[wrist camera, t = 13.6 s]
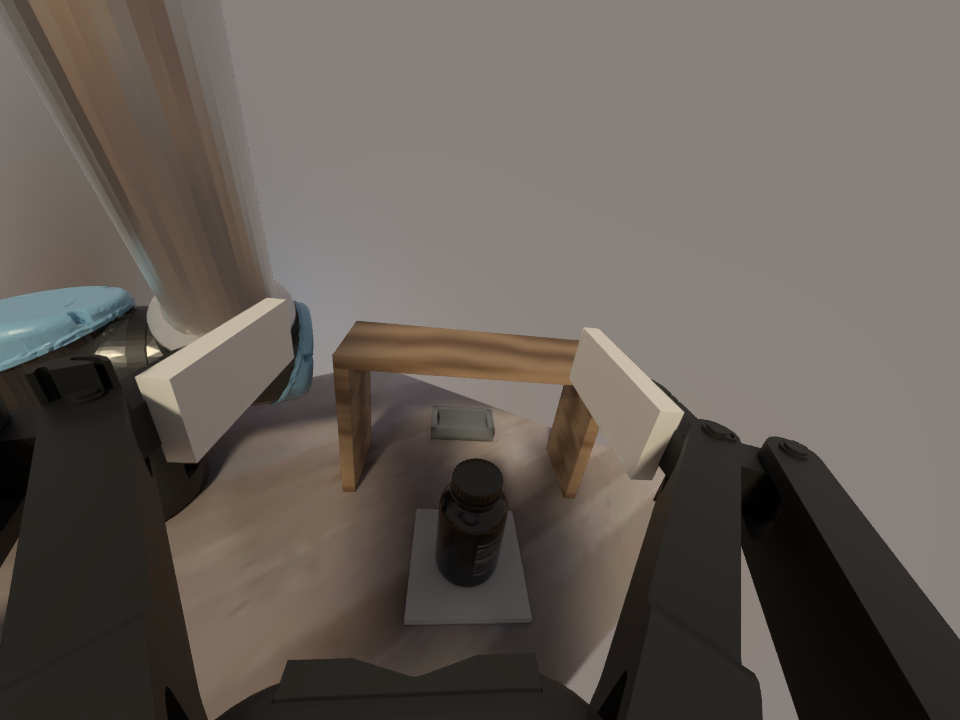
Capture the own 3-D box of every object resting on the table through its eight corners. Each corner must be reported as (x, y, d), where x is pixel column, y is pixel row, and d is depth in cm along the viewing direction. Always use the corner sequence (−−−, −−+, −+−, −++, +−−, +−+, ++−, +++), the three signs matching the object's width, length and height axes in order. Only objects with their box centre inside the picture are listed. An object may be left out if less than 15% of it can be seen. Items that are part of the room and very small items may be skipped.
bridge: (574, 498, 47) (617, 377, 38) (343, 491, 43) (332, 355, 35) (555, 448, 56) (586, 341, 47) (361, 439, 52) (356, 320, 43)
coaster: (403, 624, 31) (404, 620, 31) (416, 513, 42) (416, 508, 41) (530, 622, 33) (532, 618, 32) (511, 515, 43) (512, 510, 43)
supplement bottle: (494, 530, 40) (511, 452, 35) (499, 591, 34) (521, 509, 29) (436, 527, 39) (444, 448, 34) (431, 589, 33) (439, 504, 28)
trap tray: (492, 441, 56) (493, 430, 55) (430, 438, 54) (431, 427, 53) (488, 419, 61) (490, 409, 60) (432, 416, 60) (433, 405, 59)
